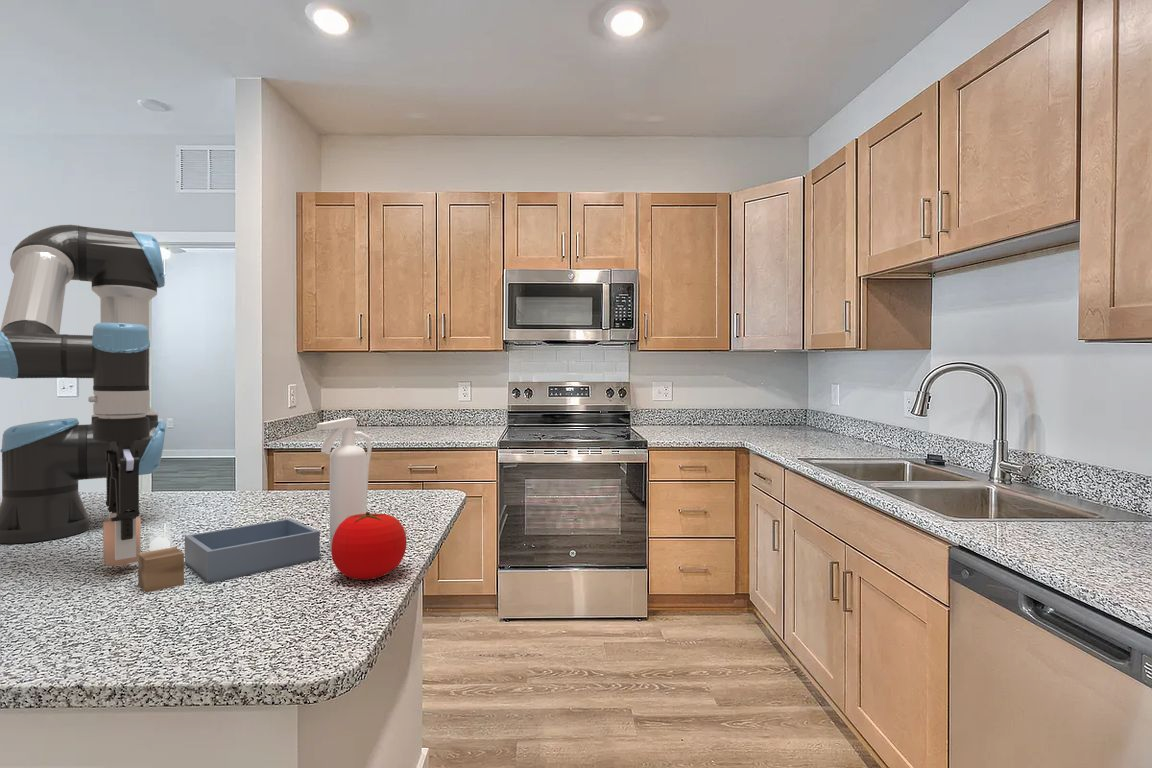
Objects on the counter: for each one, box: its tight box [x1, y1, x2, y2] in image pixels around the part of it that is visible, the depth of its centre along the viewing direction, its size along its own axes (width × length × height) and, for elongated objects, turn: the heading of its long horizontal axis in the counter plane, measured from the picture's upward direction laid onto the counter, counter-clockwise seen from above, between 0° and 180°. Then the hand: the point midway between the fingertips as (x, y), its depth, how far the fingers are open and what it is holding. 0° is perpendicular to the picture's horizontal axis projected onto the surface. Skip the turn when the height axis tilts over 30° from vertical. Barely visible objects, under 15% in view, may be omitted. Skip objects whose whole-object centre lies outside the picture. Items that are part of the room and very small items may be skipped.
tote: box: [184, 518, 321, 584], centre depth 105 cm, size 14×18×5 cm
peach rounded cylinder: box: [102, 515, 142, 567], centre depth 100 cm, size 5×5×7 cm
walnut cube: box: [137, 546, 185, 593], centre depth 93 cm, size 5×5×5 cm
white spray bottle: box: [316, 417, 373, 552], centre depth 113 cm, size 7×12×25 cm, turn 142°
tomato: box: [330, 511, 407, 581], centre depth 98 cm, size 12×12×10 cm
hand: (122, 553), depth 100 cm, fingers closed on peach rounded cylinder, 5 cm apart
